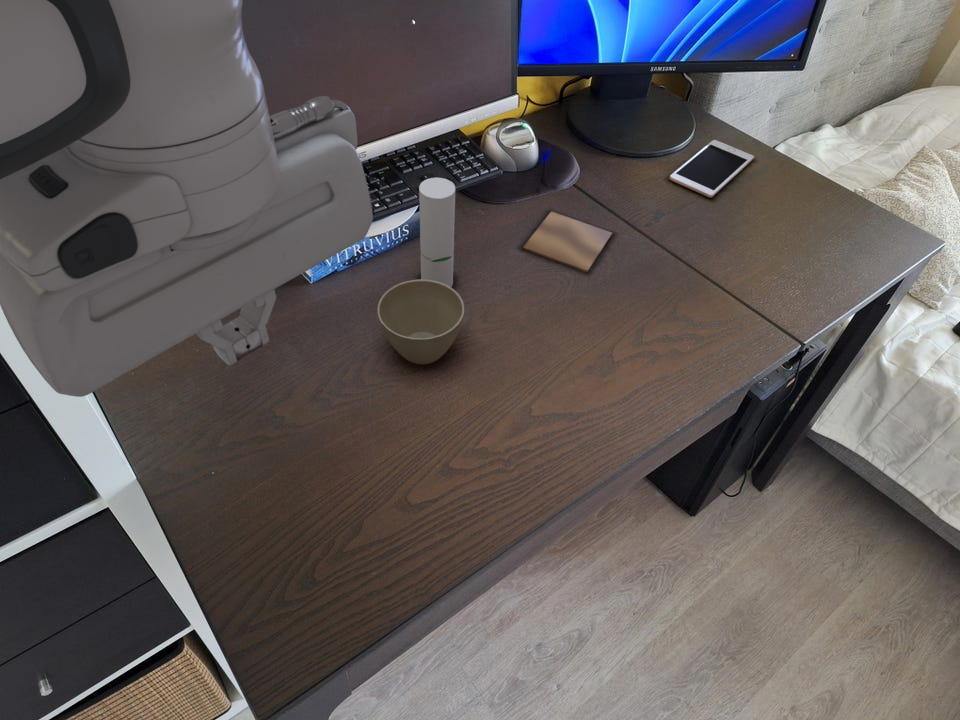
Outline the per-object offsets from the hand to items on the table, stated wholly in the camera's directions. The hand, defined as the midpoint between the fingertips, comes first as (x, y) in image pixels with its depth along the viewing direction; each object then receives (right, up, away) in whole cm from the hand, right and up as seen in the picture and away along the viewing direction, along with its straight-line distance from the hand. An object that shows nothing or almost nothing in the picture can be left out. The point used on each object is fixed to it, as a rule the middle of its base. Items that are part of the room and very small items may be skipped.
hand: (243, 348), depth 42 cm
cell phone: (+54, +31, +70) cm, 94 cm away
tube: (+9, +10, +48) cm, 50 cm away
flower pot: (+8, 0, +40) cm, 41 cm away
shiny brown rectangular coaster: (+28, +17, +55) cm, 64 cm away
